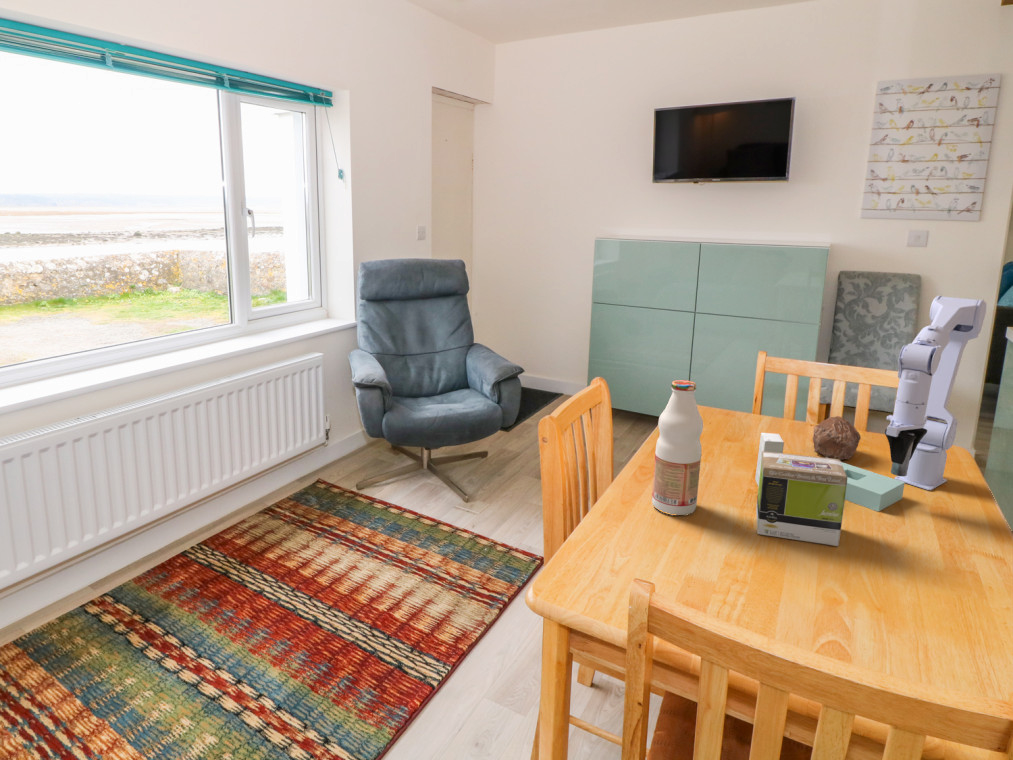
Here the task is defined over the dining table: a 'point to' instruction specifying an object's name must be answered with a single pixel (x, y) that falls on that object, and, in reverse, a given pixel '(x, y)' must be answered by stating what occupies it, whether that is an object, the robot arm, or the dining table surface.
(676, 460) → the fruit juice
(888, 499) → the hole block
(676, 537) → the dining table surface
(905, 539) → the dining table surface
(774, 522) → the tea box
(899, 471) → the metal peg
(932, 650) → the dining table surface
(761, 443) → the skincare box
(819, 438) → the decorative rock
